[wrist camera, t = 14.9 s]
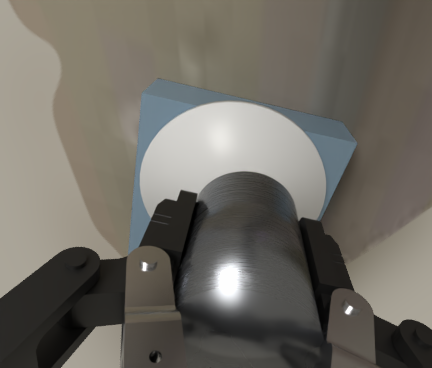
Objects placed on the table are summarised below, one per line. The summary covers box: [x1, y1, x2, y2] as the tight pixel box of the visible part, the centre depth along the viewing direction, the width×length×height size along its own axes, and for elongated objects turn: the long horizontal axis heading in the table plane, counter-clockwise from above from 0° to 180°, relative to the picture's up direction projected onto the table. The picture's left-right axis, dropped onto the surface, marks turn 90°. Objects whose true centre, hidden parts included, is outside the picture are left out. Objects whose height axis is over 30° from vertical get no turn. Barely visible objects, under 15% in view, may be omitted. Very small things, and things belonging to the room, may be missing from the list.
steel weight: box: [173, 171, 324, 368], centre depth 11 cm, size 4×4×6 cm
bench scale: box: [128, 79, 357, 255], centre depth 24 cm, size 16×14×8 cm
